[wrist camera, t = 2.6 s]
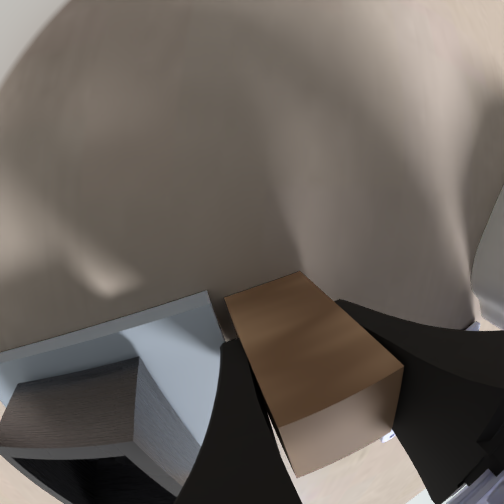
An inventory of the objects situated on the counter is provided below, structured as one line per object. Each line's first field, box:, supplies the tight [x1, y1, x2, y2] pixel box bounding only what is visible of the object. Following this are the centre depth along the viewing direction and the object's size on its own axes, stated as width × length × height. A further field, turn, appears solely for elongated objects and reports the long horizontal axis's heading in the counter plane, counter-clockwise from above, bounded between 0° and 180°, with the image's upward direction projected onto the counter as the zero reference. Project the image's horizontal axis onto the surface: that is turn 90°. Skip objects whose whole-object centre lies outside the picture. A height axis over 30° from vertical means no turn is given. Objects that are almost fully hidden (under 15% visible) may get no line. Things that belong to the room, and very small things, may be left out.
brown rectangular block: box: [224, 271, 404, 478], centre depth 8 cm, size 3×3×6 cm
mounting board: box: [0, 290, 226, 446], centre depth 10 cm, size 12×10×1 cm
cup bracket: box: [0, 356, 201, 504], centre depth 8 cm, size 6×9×4 cm
